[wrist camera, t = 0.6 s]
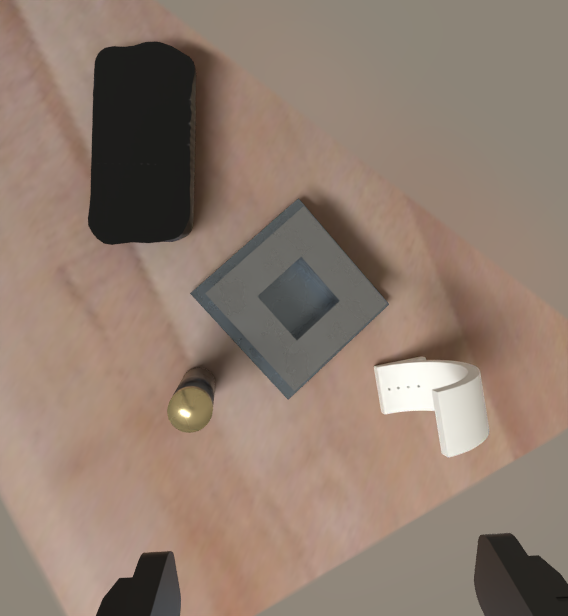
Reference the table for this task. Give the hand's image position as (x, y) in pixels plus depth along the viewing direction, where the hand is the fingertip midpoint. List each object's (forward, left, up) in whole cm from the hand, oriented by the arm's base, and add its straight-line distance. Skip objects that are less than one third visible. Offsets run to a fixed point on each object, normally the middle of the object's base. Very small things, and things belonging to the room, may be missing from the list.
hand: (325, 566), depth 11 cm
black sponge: (-21, +7, -28) cm, 36 cm away
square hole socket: (-3, +8, -28) cm, 29 cm away
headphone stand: (+11, +11, -28) cm, 32 cm away
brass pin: (-3, -4, -28) cm, 28 cm away
